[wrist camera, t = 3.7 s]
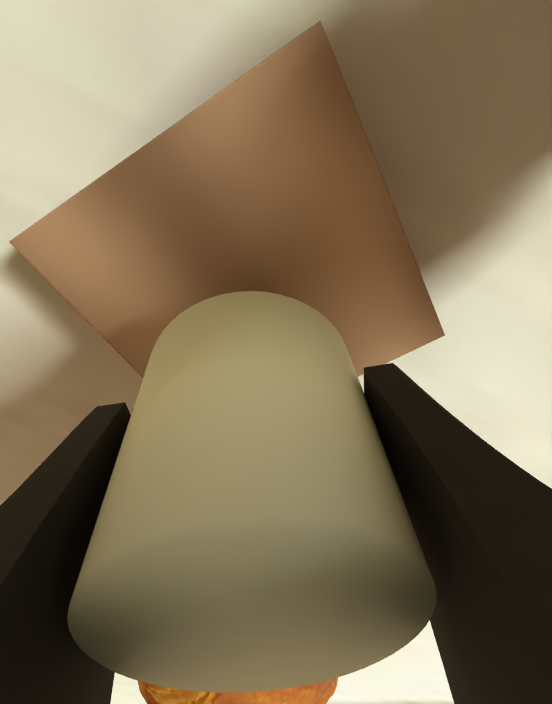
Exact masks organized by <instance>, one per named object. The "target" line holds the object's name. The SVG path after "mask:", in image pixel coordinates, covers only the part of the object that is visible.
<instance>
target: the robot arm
mask: <svg viewBox="0 0 552 704" xmlns="http://www.w3.org/2000/svg"><path fill="white" fill-rule="evenodd" d="M364 395H365V398H366V401H367V403H368V406H369V409H370V411H371V414H372V417H373V420H374V422H375V425H376V428H377V430H378V433H379V436H380V438H381V441H382V444H383V446H384V449H385V452H386V454H387V457H388V460H389V462H390V465H391V468H392V470H393V473H394V476H395V479H396V481H397V484H398V487H399V489H400V492H401V495H402V497H403V500H404V503H405V505H406V508H407V511H408V513H409V516H410V519H411V521H412V524H413V527H414V530H415V532H416V535H417V538H418V540H419V543H420V546H421V548H422V551H423V554H424V556H425V559H426V562H427V564H428V567H429V570H430V572H431V575H432V578H433V581H434V583H435V588H436V593H437V597H436V606H435V609H434V612H433V614H432V617H431V618H430V622H431V626H432V629H433V632H434V636H435V639H436V642H437V646H438V649H439V652H440V656H441V659H442V662H443V666H444V669H445V672H446V676H447V679H448V683H449V686H450V690H451V693H452V697H453V700H454V704H552V489H551V488H550V487H548V486H547V485H545V484H543V483H542V482H541V481H539V480H538V479H536V478H535V477H533V476H532V475H530V474H529V473H528V472H526V471H525V470H523V469H522V468H520V467H519V466H518V465H516V464H515V463H514V462H512V461H511V460H509V459H508V458H507V457H505V456H504V455H503V454H501V453H500V452H499V451H497V450H496V449H494V448H493V447H492V446H491V445H489V444H488V443H487V442H485V441H484V440H483V439H481V438H480V437H479V436H478V435H476V434H475V433H474V432H473V431H471V430H470V429H469V428H468V427H466V426H465V425H464V424H463V423H462V422H460V421H459V420H458V419H457V418H455V417H454V416H453V415H452V414H450V413H449V412H448V411H447V410H446V409H445V408H443V407H442V406H441V405H440V404H439V403H438V402H436V401H435V400H434V399H433V398H432V397H431V396H430V395H428V394H427V393H426V392H425V391H424V390H423V389H422V388H420V387H419V386H418V385H417V384H416V383H415V382H414V381H413V380H412V379H410V378H409V377H408V376H407V375H406V374H405V373H404V372H403V371H402V370H401V369H399V368H398V367H397V366H396V365H395V364H393V363H390V364H383V365H377V366H370V367H364ZM130 417H131V415H130V412H129V410H128V408H127V406H126V404H125V403H118V404H112V405H105V406H98V407H96V408H95V409H94V410H93V411H92V412H91V413H90V414H89V415H88V416H87V417H86V418H85V419H84V420H83V421H82V422H81V423H80V424H79V425H78V426H77V427H76V428H75V429H74V430H73V431H72V432H71V433H70V434H69V436H68V437H67V438H66V439H65V440H64V441H63V442H62V443H61V444H60V445H59V446H58V447H57V448H56V449H55V450H54V451H53V452H52V454H51V455H50V456H49V457H48V458H47V459H46V460H45V461H44V462H43V463H42V464H41V465H40V466H39V467H38V468H37V469H36V470H35V471H34V472H33V473H32V474H31V475H30V476H29V477H28V479H27V480H26V481H25V482H24V483H23V484H22V485H21V486H20V487H19V488H18V489H17V490H16V491H15V492H14V493H13V494H12V495H11V496H10V497H9V498H8V499H7V500H6V501H5V502H4V503H3V504H2V505H1V506H0V704H110V701H111V694H112V687H113V680H114V673H115V672H114V671H112V670H110V669H108V668H106V667H104V666H102V665H101V664H99V663H98V662H96V661H94V660H93V659H91V658H90V657H89V656H88V655H87V654H86V653H85V652H83V651H82V650H81V649H80V647H79V646H78V645H77V644H76V642H75V641H74V640H73V637H72V635H71V633H70V631H69V628H68V620H67V615H68V609H69V604H70V601H71V598H72V595H73V592H74V589H75V586H76V583H77V580H78V577H79V574H80V570H81V567H82V564H83V561H84V558H85V555H86V552H87V549H88V546H89V543H90V540H91V537H92V534H93V531H94V528H95V524H96V521H97V518H98V515H99V512H100V509H101V506H102V503H103V500H104V497H105V494H106V491H107V488H108V485H109V482H110V478H111V475H112V472H113V469H114V466H115V463H116V460H117V457H118V454H119V451H120V448H121V445H122V442H123V439H124V435H125V432H126V429H127V426H128V423H129V420H130Z"/></svg>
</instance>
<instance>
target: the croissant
mask: <svg viewBox="0 0 552 704" xmlns="http://www.w3.org/2000/svg"><path fill="white" fill-rule="evenodd" d="M337 681H338V677H336V678H333V679H330V680H326V681H322V682H318V683H313V684H308V685H303V686H298V687H292V688H285V689H278V690H269V691H258V692H231V693H220V692H200V691H190V690H181V689H174V688H168V687H163V686H158V685H153V684H149V683H145V682H142V681H138V684H139V689H140V692H141V694H142V696H143V698H144V699H145V701H146V702H147V704H326V703H327V701H328V700H329V698H330V697H331V696H332V695H333V694H334V692H335V689H336V686H337Z"/></svg>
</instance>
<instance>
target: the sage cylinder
mask: <svg viewBox="0 0 552 704" xmlns="http://www.w3.org/2000/svg"><path fill="white" fill-rule="evenodd" d="M436 597H437V593H436V588H435V583H434V581H433V578H432V575H431V572H430V570H429V567H428V564H427V562H426V559H425V556H424V554H423V551H422V548H421V546H420V543H419V540H418V538H417V535H416V532H415V530H414V527H413V524H412V521H411V519H410V516H409V513H408V511H407V508H406V505H405V503H404V500H403V497H402V495H401V492H400V489H399V487H398V484H397V481H396V479H395V476H394V473H393V470H392V468H391V465H390V462H389V460H388V457H387V454H386V452H385V449H384V446H383V444H382V441H381V438H380V436H379V433H378V430H377V428H376V425H375V422H374V420H373V417H372V414H371V411H370V409H369V406H368V403H367V401H366V398H365V395H364V393H363V390H362V387H361V385H360V382H359V379H358V377H357V374H356V371H355V369H354V366H353V363H352V360H351V358H350V355H349V352H348V350H347V347H346V345H345V343H344V341H343V338H342V337H341V335H340V334H339V332H338V331H337V329H336V328H335V327H334V326H333V325H332V323H331V322H330V321H329V320H328V319H327V318H326V317H324V316H323V315H322V314H321V313H319V312H318V311H317V310H315V309H314V308H312V307H310V306H309V305H307V304H305V303H303V302H300V301H298V300H296V299H294V298H291V297H287V296H284V295H280V294H275V293H269V292H260V291H243V292H232V293H227V294H222V295H218V296H215V297H212V298H209V299H206V300H203V301H201V302H199V303H197V304H195V305H193V306H191V307H190V308H188V309H187V310H185V311H183V312H182V313H180V314H179V315H178V316H177V317H176V318H175V319H173V320H172V321H171V322H170V323H169V324H168V326H167V327H166V328H165V329H164V330H163V331H162V333H161V335H160V336H159V338H158V339H157V341H156V343H155V345H154V348H153V350H152V353H151V356H150V359H149V362H148V365H147V368H146V371H145V374H144V377H143V380H142V383H141V386H140V389H139V393H138V396H137V399H136V402H135V405H134V408H133V411H132V414H131V417H130V420H129V423H128V426H127V429H126V432H125V435H124V439H123V442H122V445H121V448H120V451H119V454H118V457H117V460H116V463H115V466H114V469H113V472H112V475H111V478H110V482H109V485H108V488H107V491H106V494H105V497H104V500H103V503H102V506H101V509H100V512H99V515H98V518H97V521H96V524H95V528H94V531H93V534H92V537H91V540H90V543H89V546H88V549H87V552H86V555H85V558H84V561H83V564H82V567H81V570H80V574H79V577H78V580H77V583H76V586H75V589H74V592H73V595H72V598H71V601H70V604H69V609H68V615H67V620H68V628H69V631H70V633H71V635H72V637H73V640H74V641H75V642H76V644H77V645H78V646H79V647H80V649H81V650H82V651H83V652H85V653H86V654H87V655H88V656H89V657H90V658H91V659H93V660H94V661H96V662H98V663H99V664H101V665H102V666H104V667H106V668H108V669H110V670H112V671H114V672H116V673H118V674H121V675H124V676H126V677H129V678H132V679H135V680H138V681H142V682H145V683H149V684H153V685H158V686H163V687H168V688H174V689H181V690H190V691H200V692H220V693H231V692H258V691H269V690H278V689H285V688H292V687H298V686H303V685H308V684H313V683H318V682H322V681H326V680H330V679H333V678H336V677H340V676H343V675H346V674H349V673H352V672H355V671H357V670H360V669H363V668H365V667H367V666H370V665H372V664H374V663H376V662H379V661H381V660H382V659H384V658H386V657H388V656H390V655H392V654H393V653H395V652H396V651H398V650H399V649H401V648H402V647H404V646H405V645H407V644H408V643H409V642H410V641H411V640H413V639H414V638H415V637H416V636H417V635H418V634H419V633H420V632H421V631H422V630H423V628H424V627H425V626H426V625H427V623H428V621H429V620H430V618H431V617H432V614H433V612H434V609H435V606H436Z"/></svg>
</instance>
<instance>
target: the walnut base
mask: <svg viewBox="0 0 552 704" xmlns="http://www.w3.org/2000/svg"><path fill="white" fill-rule="evenodd" d="M9 242H10V243H11V244H12V245H13V246H14V247H15V248H16V249H17V250H18V251H19V252H20V253H21V254H22V255H23V257H24V258H25V259H26V260H27V261H28V262H29V263H30V264H31V265H32V266H33V267H34V268H35V269H36V270H37V271H38V272H39V273H40V274H41V275H42V276H43V277H44V278H45V279H46V280H47V281H48V282H49V283H50V284H51V285H52V286H53V287H54V288H55V289H56V290H57V291H58V292H59V293H60V294H61V295H62V296H63V297H64V298H65V299H66V300H67V301H68V302H69V303H70V304H71V305H72V306H73V307H74V308H75V309H76V310H77V311H78V312H79V313H80V314H81V315H82V316H83V317H84V318H85V319H86V320H87V321H88V322H89V323H90V324H91V325H92V326H93V327H94V328H95V329H96V330H97V331H98V332H99V333H100V334H101V335H102V336H103V337H104V338H105V339H106V341H107V342H108V343H109V344H110V345H111V346H112V347H113V348H114V349H115V350H116V351H117V352H118V353H119V354H120V355H121V356H122V357H123V358H124V359H125V360H126V361H127V362H128V363H129V364H130V365H131V366H132V367H133V368H134V369H135V370H136V371H137V372H138V373H139V374H140V375H141V376H142V377H144V374H145V371H146V368H147V365H148V362H149V359H150V356H151V353H152V350H153V348H154V345H155V343H156V341H157V339H158V338H159V336H160V335H161V333H162V331H163V330H164V329H165V328H166V327H167V326H168V324H169V323H170V322H171V321H172V320H173V319H175V318H176V317H177V316H178V315H179V314H180V313H182V312H183V311H185V310H187V309H188V308H190V307H191V306H193V305H195V304H197V303H199V302H201V301H203V300H206V299H209V298H212V297H215V296H218V295H222V294H227V293H232V292H243V291H260V292H269V293H275V294H280V295H284V296H287V297H291V298H294V299H296V300H298V301H300V302H303V303H305V304H307V305H309V306H310V307H312V308H314V309H315V310H317V311H318V312H319V313H321V314H322V315H323V316H324V317H326V318H327V319H328V320H329V321H330V322H331V323H332V325H333V326H334V327H335V328H336V329H337V331H338V332H339V334H340V335H341V337H342V338H343V341H344V343H345V345H346V347H347V350H348V352H349V355H350V358H351V360H352V363H353V366H354V369H355V371H356V374H357V377H358V376H360V375H362V374H364V367H370V366H377V365H383V364H385V363H387V362H390V361H392V360H394V359H396V358H398V357H400V356H402V355H404V354H406V353H409V352H411V351H413V350H415V349H417V348H419V347H421V346H423V345H425V344H427V343H430V342H432V341H434V340H436V339H438V338H440V337H442V336H444V335H445V334H444V332H443V329H442V327H441V324H440V322H439V319H438V317H437V314H436V311H435V309H434V306H433V304H432V301H431V299H430V296H429V294H428V291H427V289H426V286H425V284H424V281H423V279H422V276H421V274H420V271H419V269H418V266H417V264H416V261H415V259H414V256H413V254H412V251H411V249H410V246H409V243H408V241H407V238H406V236H405V233H404V231H403V228H402V226H401V223H400V221H399V218H398V216H397V213H396V211H395V208H394V206H393V203H392V201H391V198H390V196H389V193H388V191H387V188H386V186H385V183H384V181H383V178H382V175H381V173H380V170H379V168H378V165H377V163H376V160H375V158H374V155H373V153H372V150H371V148H370V145H369V143H368V140H367V138H366V135H365V133H364V130H363V128H362V125H361V123H360V120H359V118H358V115H357V113H356V110H355V107H354V105H353V102H352V100H351V97H350V95H349V92H348V90H347V87H346V85H345V82H344V80H343V77H342V75H341V72H340V70H339V67H338V65H337V62H336V60H335V57H334V55H333V52H332V50H331V47H330V44H329V42H328V39H327V37H326V34H325V32H324V29H323V27H322V24H321V22H320V21H319V22H318V23H317V24H315V25H314V26H312V27H311V28H309V29H308V30H307V31H305V32H304V33H302V34H301V35H300V36H298V37H297V38H295V39H294V40H293V41H291V42H290V43H288V44H287V45H286V46H284V47H283V48H281V49H280V50H278V51H277V52H276V53H274V54H273V55H271V56H270V57H269V58H267V59H266V60H264V61H263V62H262V63H260V64H259V65H257V66H256V67H255V68H253V69H252V70H250V71H249V72H247V73H246V74H245V75H243V76H242V77H240V78H239V79H238V80H236V81H235V82H233V83H232V84H231V85H229V86H228V87H226V88H225V89H224V90H222V91H221V92H219V93H218V94H216V95H215V96H214V97H212V98H211V99H209V100H208V101H207V102H205V103H204V104H202V105H201V106H200V107H198V108H197V109H195V110H194V111H193V112H191V113H190V114H188V115H187V116H185V117H184V118H183V119H181V120H180V121H178V122H177V123H176V124H174V125H173V126H171V127H170V128H169V129H167V130H166V131H164V132H163V133H162V134H160V135H159V136H157V137H156V138H154V139H153V140H152V141H150V142H149V143H147V144H146V145H145V146H143V147H142V148H140V149H139V150H138V151H136V152H135V153H133V154H132V155H130V156H129V157H128V158H126V159H125V160H123V161H122V162H121V163H119V164H118V165H116V166H115V167H114V168H112V169H111V170H109V171H108V172H107V173H105V174H104V175H102V176H101V177H99V178H98V179H97V180H95V181H94V182H92V183H91V184H90V185H88V186H87V187H85V188H84V189H83V190H81V191H80V192H78V193H77V194H76V195H74V196H73V197H71V198H70V199H68V200H67V201H66V202H64V203H63V204H61V205H60V206H59V207H57V208H56V209H54V210H53V211H52V212H50V213H49V214H47V215H46V216H45V217H43V218H42V219H40V220H39V221H37V222H36V223H35V224H33V225H32V226H30V227H29V228H28V229H26V230H25V231H23V232H22V233H21V234H19V235H18V236H16V237H15V238H14V239H12V240H11V241H9Z"/></svg>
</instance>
